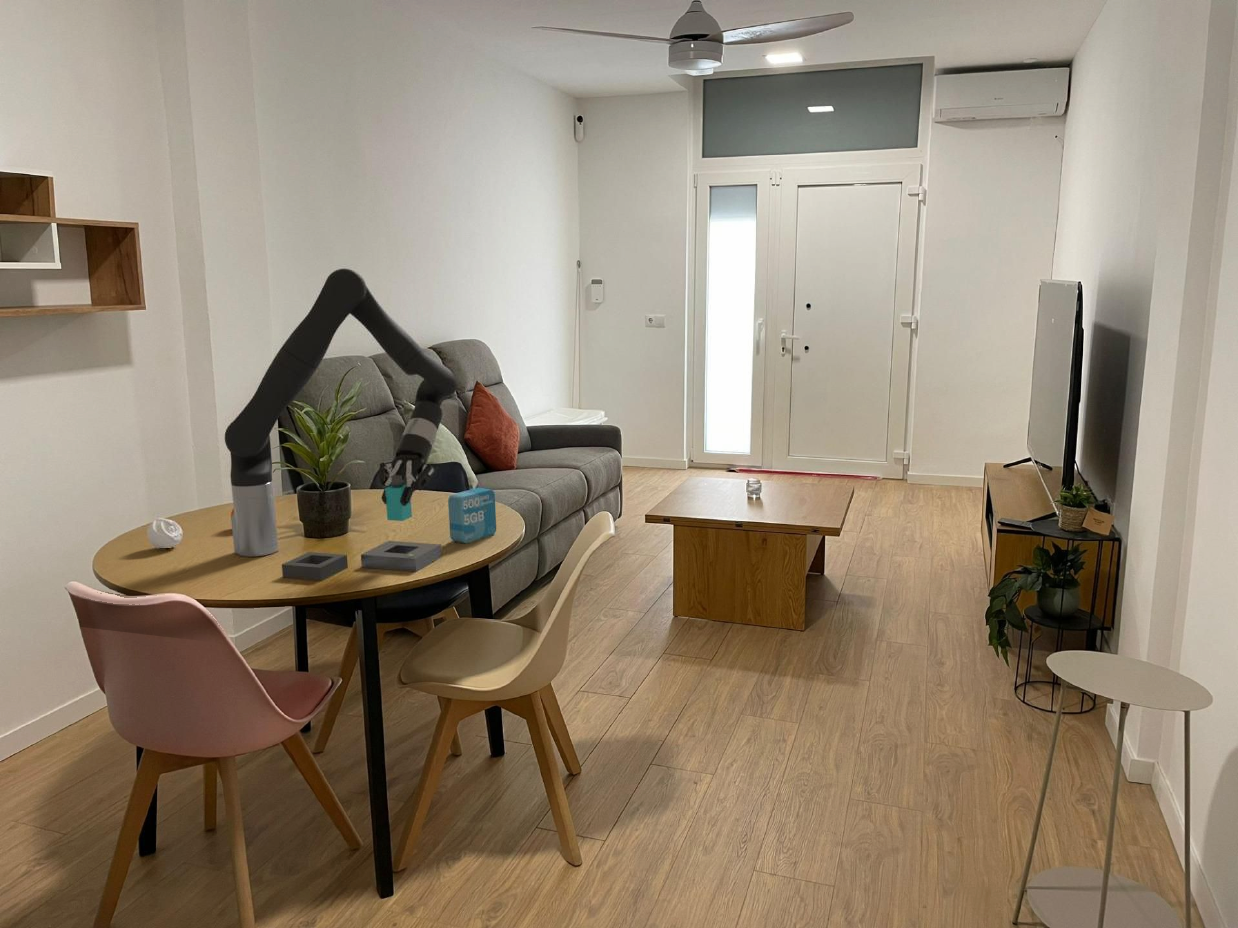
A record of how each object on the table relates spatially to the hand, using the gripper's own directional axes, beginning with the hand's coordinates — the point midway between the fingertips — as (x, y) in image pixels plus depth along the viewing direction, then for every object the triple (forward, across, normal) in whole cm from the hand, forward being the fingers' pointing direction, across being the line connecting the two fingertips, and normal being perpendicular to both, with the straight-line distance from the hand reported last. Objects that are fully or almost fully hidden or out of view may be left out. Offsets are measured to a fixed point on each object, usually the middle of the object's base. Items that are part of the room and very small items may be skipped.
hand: (394, 503), depth 212 cm
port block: (+9, 0, +12) cm, 15 cm away
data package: (-7, +7, +28) cm, 30 cm away
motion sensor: (+12, -64, +9) cm, 66 cm away
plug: (+2, 0, +4) cm, 4 cm away
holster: (+17, -15, +3) cm, 23 cm away
